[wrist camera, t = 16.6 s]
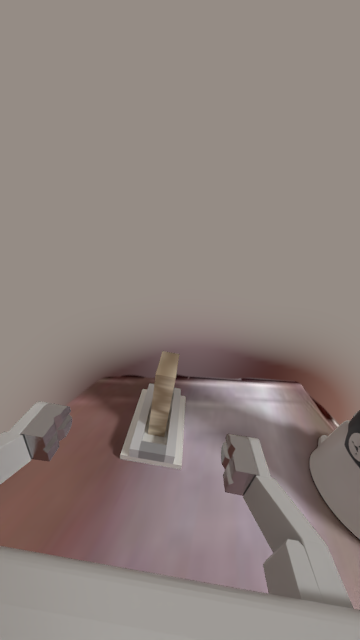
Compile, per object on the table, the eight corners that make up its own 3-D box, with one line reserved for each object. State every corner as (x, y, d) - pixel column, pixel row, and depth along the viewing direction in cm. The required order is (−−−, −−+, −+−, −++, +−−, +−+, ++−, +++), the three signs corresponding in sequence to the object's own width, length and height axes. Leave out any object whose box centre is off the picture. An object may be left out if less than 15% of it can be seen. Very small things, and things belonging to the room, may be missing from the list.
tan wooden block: (168, 408, 39) (179, 354, 33) (164, 437, 33) (175, 377, 27) (154, 406, 39) (162, 351, 33) (147, 434, 33) (155, 374, 27)
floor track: (184, 400, 43) (187, 389, 41) (180, 469, 30) (183, 458, 29) (142, 392, 43) (143, 382, 41) (120, 459, 30) (120, 447, 29)
